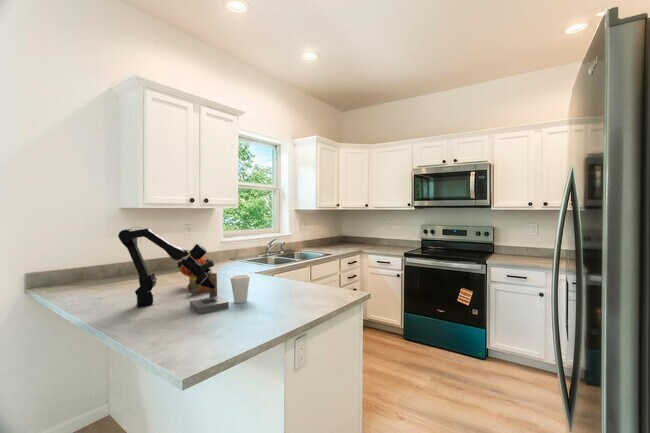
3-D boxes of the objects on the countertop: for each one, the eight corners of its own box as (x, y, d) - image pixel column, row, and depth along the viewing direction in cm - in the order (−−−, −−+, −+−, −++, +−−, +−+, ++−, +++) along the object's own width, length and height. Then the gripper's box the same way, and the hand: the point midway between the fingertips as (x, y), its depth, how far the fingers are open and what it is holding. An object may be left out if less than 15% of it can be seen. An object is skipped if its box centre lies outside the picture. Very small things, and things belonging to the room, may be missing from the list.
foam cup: (244, 304, 157) (244, 278, 156) (227, 303, 159) (227, 278, 158) (252, 299, 166) (252, 274, 166) (236, 298, 168) (236, 274, 168)
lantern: (215, 284, 198) (214, 237, 197) (191, 291, 184) (189, 239, 183) (198, 281, 207) (197, 236, 206) (173, 287, 193) (172, 238, 192)
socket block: (198, 314, 143) (198, 307, 143) (190, 306, 154) (189, 300, 154) (228, 308, 151) (228, 301, 151) (218, 301, 162) (218, 295, 162)
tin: (189, 296, 172) (189, 281, 172) (186, 295, 174) (186, 280, 174) (214, 290, 184) (213, 276, 184) (211, 289, 186) (210, 275, 186)
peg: (210, 301, 163) (210, 274, 162) (208, 299, 166) (207, 273, 166) (218, 299, 165) (217, 273, 165) (215, 298, 168) (215, 272, 168)
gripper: (201, 257, 155) (225, 278, 158) (206, 252, 173) (227, 271, 176) (185, 274, 153) (209, 295, 156) (191, 267, 171) (213, 286, 174)
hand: (215, 286), depth 166 cm, fingers open, 9 cm apart
